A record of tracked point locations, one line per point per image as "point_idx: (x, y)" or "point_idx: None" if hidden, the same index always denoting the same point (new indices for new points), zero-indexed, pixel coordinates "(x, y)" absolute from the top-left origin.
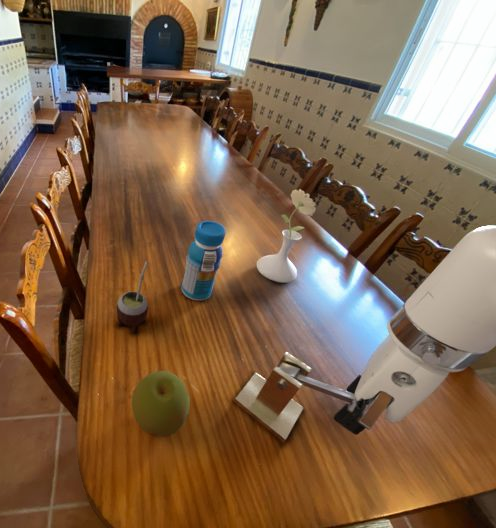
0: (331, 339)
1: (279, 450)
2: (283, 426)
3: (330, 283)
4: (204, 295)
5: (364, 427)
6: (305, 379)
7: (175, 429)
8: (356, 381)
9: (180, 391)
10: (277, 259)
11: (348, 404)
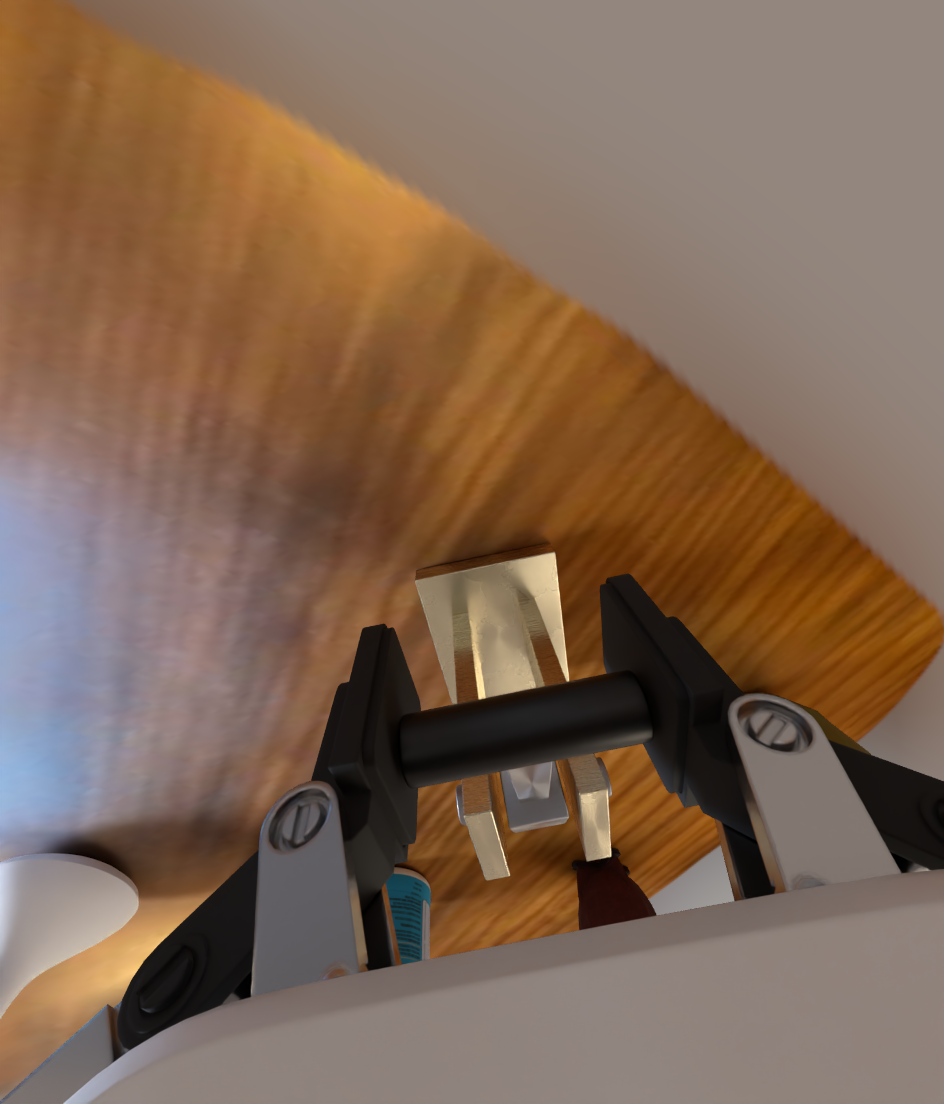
0: (66, 665)
1: (577, 534)
2: (525, 577)
3: None
4: (394, 890)
5: (673, 632)
6: (537, 795)
7: (823, 730)
8: (416, 809)
9: None
10: (40, 965)
11: (689, 799)
